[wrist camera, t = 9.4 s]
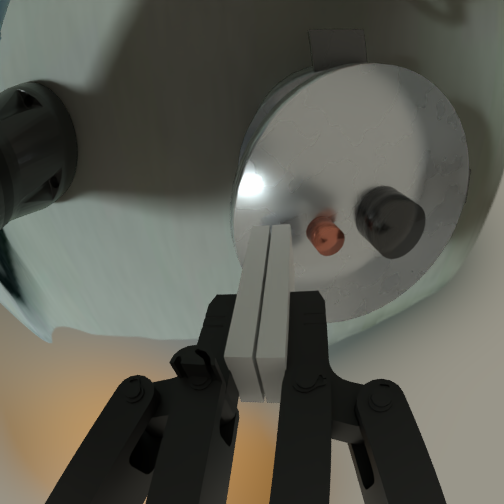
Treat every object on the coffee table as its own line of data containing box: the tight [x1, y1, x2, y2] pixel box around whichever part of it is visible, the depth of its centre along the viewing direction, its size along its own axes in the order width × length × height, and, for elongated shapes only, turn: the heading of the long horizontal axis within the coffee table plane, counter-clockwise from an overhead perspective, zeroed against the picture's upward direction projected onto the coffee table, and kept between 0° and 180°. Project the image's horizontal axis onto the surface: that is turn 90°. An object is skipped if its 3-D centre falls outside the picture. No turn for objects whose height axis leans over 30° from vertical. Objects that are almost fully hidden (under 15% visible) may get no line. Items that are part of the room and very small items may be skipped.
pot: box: [238, 29, 367, 166], centre depth 21 cm, size 15×19×8 cm
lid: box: [230, 62, 471, 323], centre depth 14 cm, size 15×15×3 cm
